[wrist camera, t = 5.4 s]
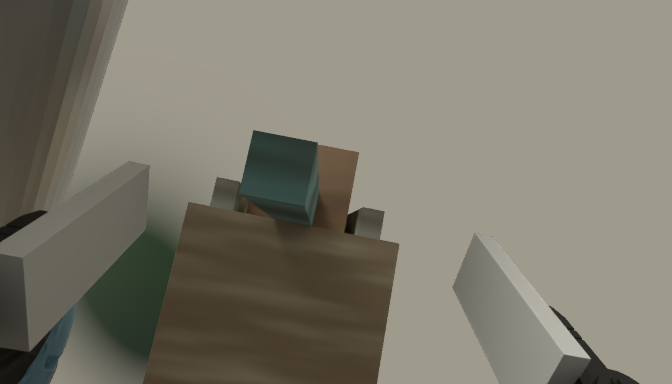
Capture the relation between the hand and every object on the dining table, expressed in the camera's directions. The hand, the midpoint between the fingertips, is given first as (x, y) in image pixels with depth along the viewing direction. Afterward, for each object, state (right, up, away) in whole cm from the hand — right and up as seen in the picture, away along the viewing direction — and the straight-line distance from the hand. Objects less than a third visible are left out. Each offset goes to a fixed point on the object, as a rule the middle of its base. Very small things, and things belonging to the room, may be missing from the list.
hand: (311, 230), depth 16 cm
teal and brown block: (-2, 0, +9) cm, 9 cm away
